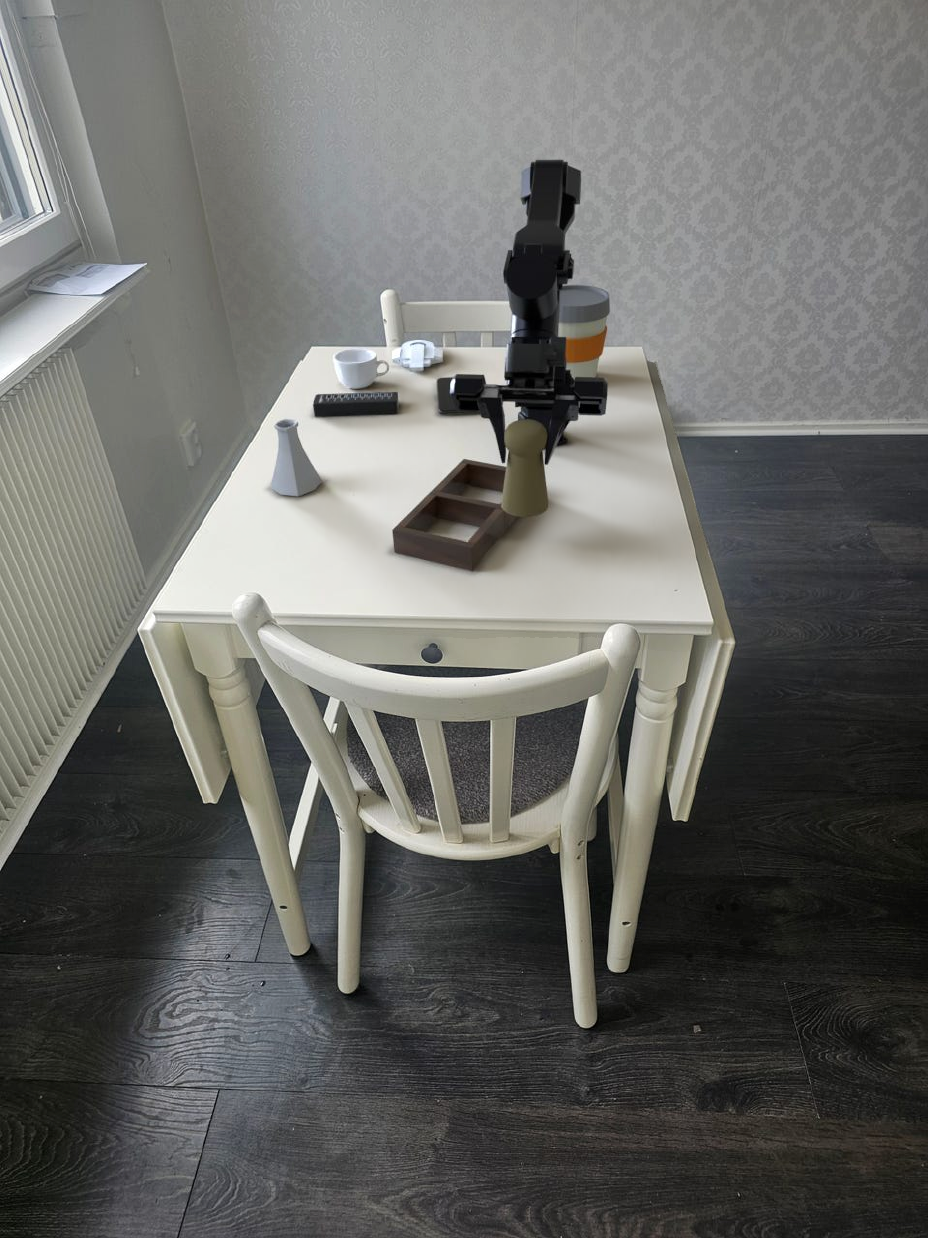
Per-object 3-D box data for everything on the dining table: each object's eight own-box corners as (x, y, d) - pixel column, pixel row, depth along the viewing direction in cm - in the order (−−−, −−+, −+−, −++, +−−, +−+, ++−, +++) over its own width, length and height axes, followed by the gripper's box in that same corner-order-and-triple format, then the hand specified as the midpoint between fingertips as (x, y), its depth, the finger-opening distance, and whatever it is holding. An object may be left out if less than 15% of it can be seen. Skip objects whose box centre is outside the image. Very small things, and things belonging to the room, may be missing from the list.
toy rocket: (442, 373, 161) (442, 361, 160) (391, 375, 161) (390, 363, 160) (443, 343, 174) (442, 332, 172) (395, 345, 174) (394, 334, 173)
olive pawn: (552, 514, 106) (555, 433, 99) (504, 518, 106) (503, 437, 99) (544, 490, 111) (546, 411, 104) (498, 494, 110) (497, 415, 104)
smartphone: (481, 413, 146) (476, 379, 158) (481, 409, 146) (476, 375, 157) (438, 416, 146) (436, 381, 158) (438, 411, 145) (436, 377, 157)
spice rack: (464, 479, 128) (463, 458, 126) (535, 493, 124) (536, 472, 122) (394, 552, 112) (392, 529, 110) (472, 571, 108) (471, 548, 106)
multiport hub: (397, 414, 147) (396, 401, 146) (314, 416, 147) (312, 404, 146) (399, 403, 151) (398, 391, 149) (317, 406, 151) (315, 393, 150)
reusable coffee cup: (608, 367, 161) (614, 285, 152) (601, 393, 151) (607, 308, 142) (542, 363, 163) (544, 283, 154) (531, 389, 154) (532, 305, 145)
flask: (299, 502, 124) (288, 438, 118) (262, 490, 127) (249, 427, 121) (330, 481, 129) (321, 419, 123) (294, 470, 132) (283, 409, 126)
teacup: (333, 392, 156) (329, 363, 152) (341, 376, 162) (337, 348, 158) (387, 392, 155) (384, 363, 152) (393, 376, 161) (391, 348, 158)
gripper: (448, 306, 98) (437, 438, 96) (613, 309, 96) (605, 444, 94) (461, 348, 109) (451, 467, 107) (608, 351, 107) (601, 473, 105)
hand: (524, 463), depth 103 cm, fingers closed on olive pawn, 5 cm apart
